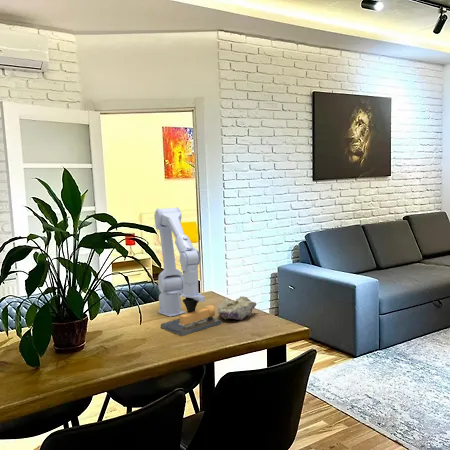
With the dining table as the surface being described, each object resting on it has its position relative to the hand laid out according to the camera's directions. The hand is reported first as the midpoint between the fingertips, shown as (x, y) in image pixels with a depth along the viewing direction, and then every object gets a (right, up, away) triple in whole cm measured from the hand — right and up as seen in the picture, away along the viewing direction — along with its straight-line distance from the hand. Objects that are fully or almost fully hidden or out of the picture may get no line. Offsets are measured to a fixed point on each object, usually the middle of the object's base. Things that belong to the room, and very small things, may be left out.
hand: (191, 317), depth 176 cm
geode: (+17, -2, +10) cm, 20 cm away
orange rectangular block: (+3, -1, 0) cm, 3 cm away
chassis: (0, -3, 0) cm, 3 cm away
